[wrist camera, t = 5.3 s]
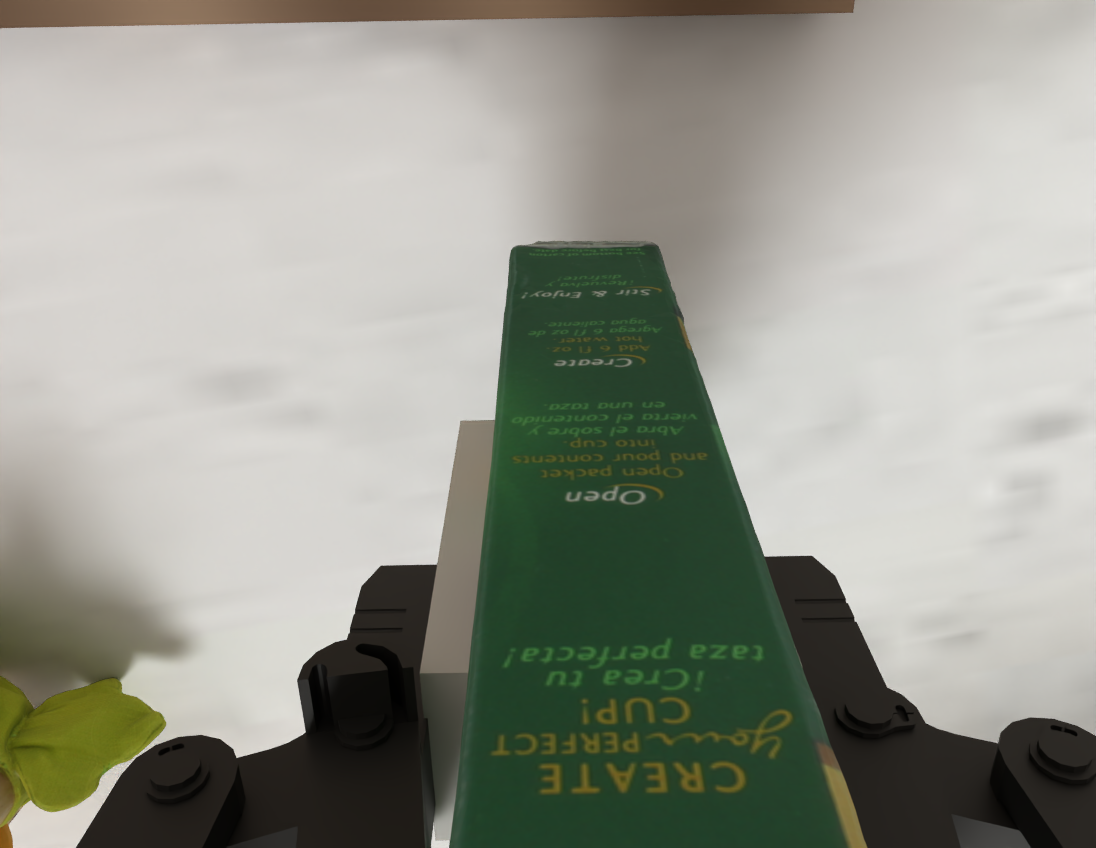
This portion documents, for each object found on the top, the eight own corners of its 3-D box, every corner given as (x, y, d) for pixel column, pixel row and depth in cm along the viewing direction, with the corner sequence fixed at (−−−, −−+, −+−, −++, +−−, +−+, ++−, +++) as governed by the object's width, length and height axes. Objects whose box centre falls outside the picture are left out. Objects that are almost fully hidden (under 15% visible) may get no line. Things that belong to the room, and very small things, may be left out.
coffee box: (648, 606, 21) (782, 1469, 9) (513, 607, 21) (476, 1472, 9) (668, 237, 17) (937, 882, 6) (506, 237, 17) (425, 884, 6)
